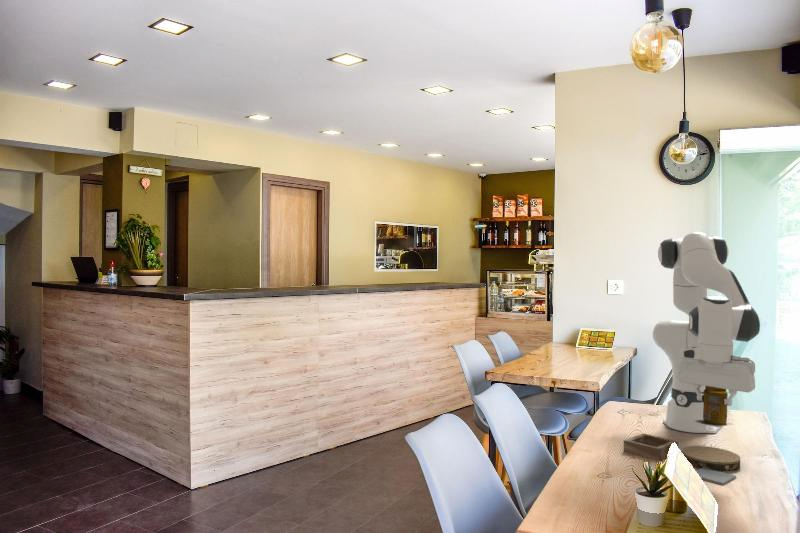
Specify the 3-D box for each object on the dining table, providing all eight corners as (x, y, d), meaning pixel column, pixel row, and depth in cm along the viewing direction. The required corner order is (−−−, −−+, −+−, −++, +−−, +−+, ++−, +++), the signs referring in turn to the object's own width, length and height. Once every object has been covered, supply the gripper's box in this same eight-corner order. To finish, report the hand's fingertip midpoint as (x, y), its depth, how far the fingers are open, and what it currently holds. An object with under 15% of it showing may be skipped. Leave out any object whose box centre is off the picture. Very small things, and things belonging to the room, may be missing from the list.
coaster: (703, 469, 184) (703, 467, 184) (735, 477, 177) (736, 475, 177) (689, 476, 178) (689, 474, 178) (722, 485, 171) (723, 482, 171)
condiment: (733, 424, 176) (734, 381, 177) (717, 427, 172) (718, 383, 172) (708, 419, 182) (709, 378, 183) (691, 422, 178) (693, 379, 178)
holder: (643, 444, 208) (643, 433, 208) (677, 452, 200) (677, 441, 199) (623, 451, 200) (623, 440, 200) (659, 460, 191) (659, 449, 191)
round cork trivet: (735, 459, 195) (735, 449, 195) (744, 475, 180) (745, 465, 180) (679, 453, 200) (679, 443, 200) (684, 468, 185) (684, 458, 185)
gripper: (759, 357, 171) (758, 408, 171) (684, 348, 186) (683, 395, 187) (750, 359, 167) (749, 411, 167) (674, 350, 182) (673, 398, 182)
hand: (714, 402), depth 177 cm, fingers closed on condiment, 6 cm apart
